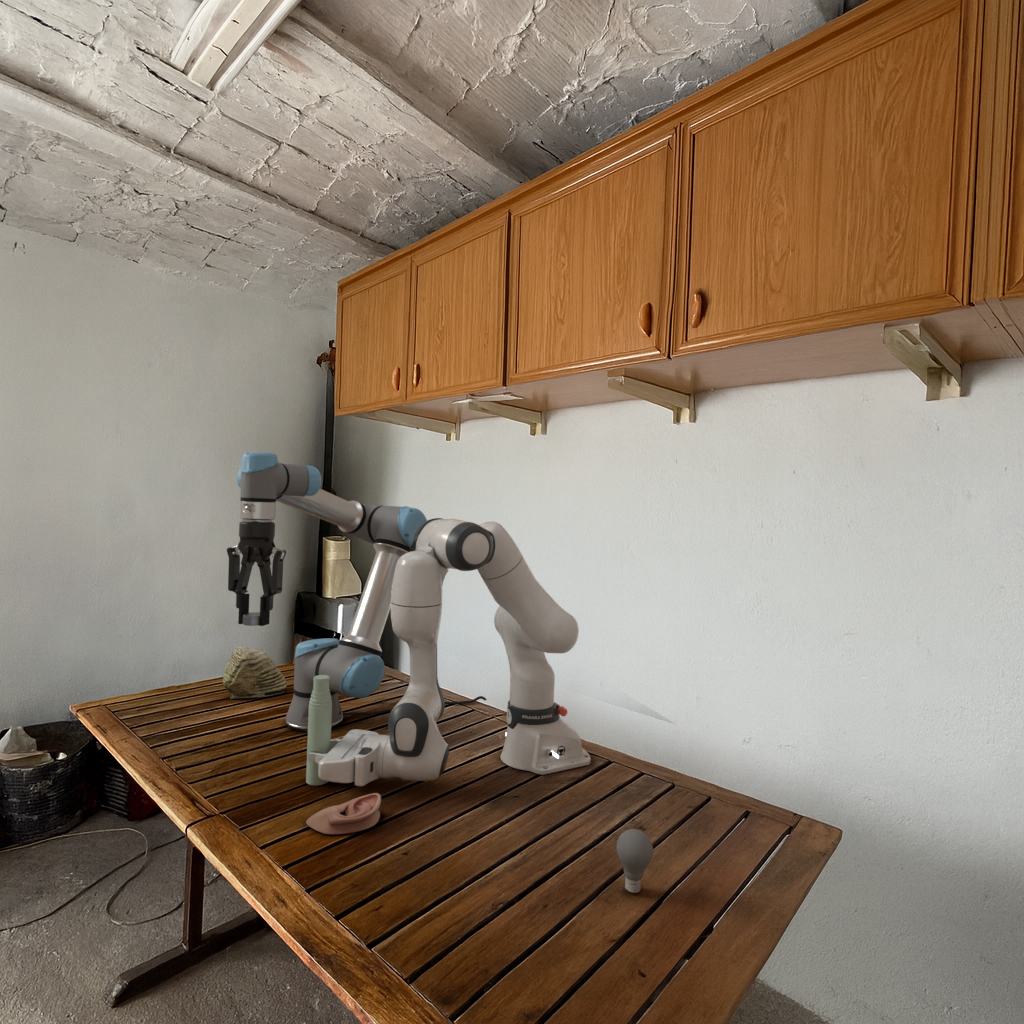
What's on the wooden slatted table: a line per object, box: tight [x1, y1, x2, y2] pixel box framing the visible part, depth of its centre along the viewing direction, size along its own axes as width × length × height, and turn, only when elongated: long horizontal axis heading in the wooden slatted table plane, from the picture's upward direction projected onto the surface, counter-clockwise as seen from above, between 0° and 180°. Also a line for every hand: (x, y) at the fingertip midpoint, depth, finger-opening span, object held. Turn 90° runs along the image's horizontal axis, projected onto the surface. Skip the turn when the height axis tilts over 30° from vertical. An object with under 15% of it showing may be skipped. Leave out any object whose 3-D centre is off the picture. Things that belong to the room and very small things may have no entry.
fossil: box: [222, 646, 288, 699], centre depth 198 cm, size 9×18×15 cm, turn 132°
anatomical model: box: [305, 792, 382, 835], centre depth 124 cm, size 13×4×12 cm
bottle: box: [305, 675, 332, 786], centre depth 141 cm, size 5×5×23 cm
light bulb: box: [615, 828, 654, 894], centre depth 106 cm, size 6×6×10 cm
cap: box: [242, 611, 260, 627], centre depth 143 cm, size 5×5×2 cm
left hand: (253, 623), depth 143 cm, fingers closed on cap, 4 cm apart
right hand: (314, 750), depth 141 cm, fingers closed on bottle, 5 cm apart
